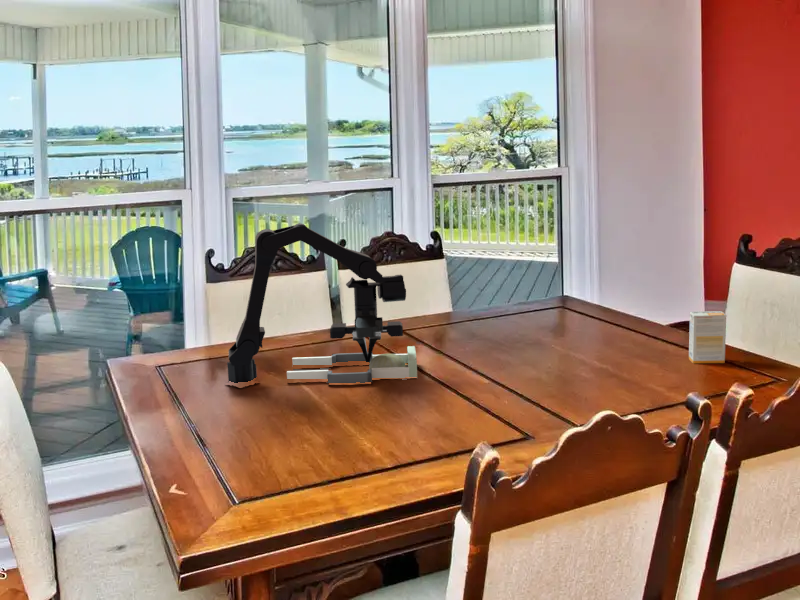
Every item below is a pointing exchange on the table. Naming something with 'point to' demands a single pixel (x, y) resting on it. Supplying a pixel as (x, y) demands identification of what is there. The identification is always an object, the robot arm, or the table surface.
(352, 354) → the trap lane
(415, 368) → the end block
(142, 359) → the table surface
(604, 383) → the table surface
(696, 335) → the supplement box
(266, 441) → the table surface
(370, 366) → the sea urchin shell
